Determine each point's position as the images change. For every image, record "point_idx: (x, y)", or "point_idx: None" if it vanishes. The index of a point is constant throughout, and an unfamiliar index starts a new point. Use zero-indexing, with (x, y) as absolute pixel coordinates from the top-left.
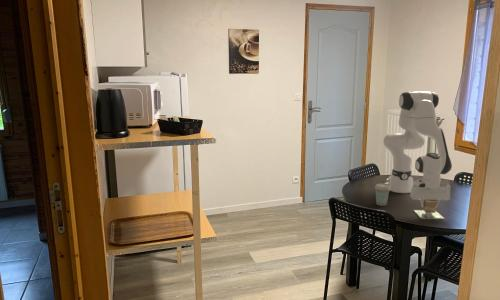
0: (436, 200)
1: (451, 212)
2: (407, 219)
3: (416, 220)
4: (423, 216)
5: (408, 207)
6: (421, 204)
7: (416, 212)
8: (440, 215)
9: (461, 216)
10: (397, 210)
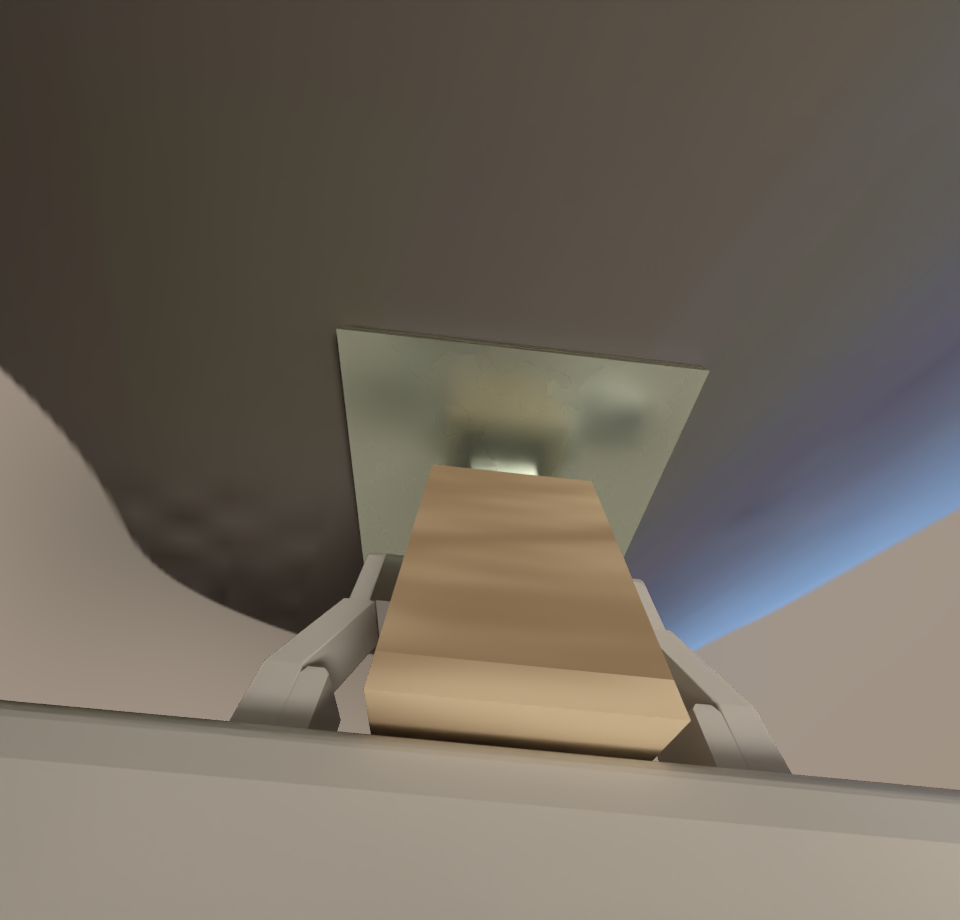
0: (679, 737)
1: (906, 431)
2: (227, 565)
3: (312, 588)
4: (402, 553)
5: (283, 64)
6: (358, 586)
7: (355, 438)
8: (619, 546)
9: (864, 553)
10: (67, 271)
